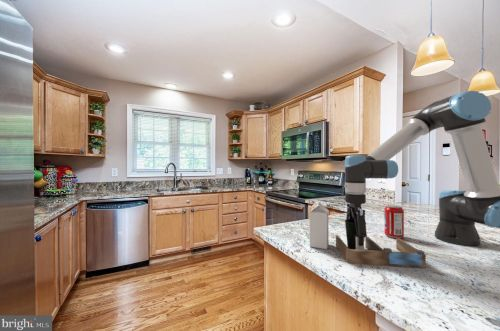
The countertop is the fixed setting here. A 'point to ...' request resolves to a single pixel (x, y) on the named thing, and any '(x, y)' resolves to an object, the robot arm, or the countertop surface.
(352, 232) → the cup
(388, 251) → the comb rack
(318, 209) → the milk carton
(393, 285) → the countertop surface
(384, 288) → the countertop surface
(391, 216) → the soda can
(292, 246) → the countertop surface
